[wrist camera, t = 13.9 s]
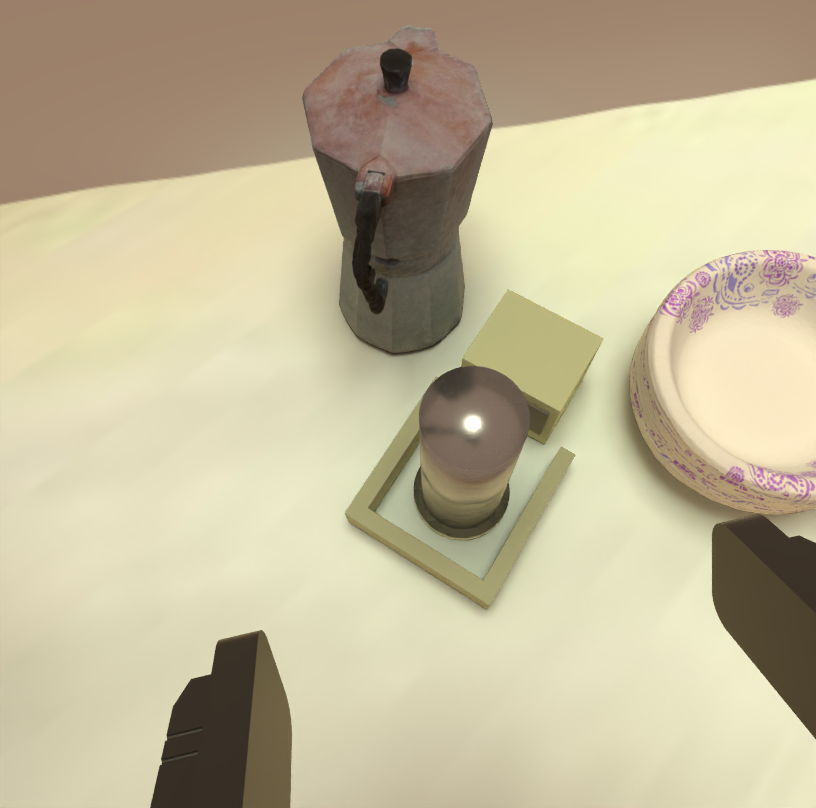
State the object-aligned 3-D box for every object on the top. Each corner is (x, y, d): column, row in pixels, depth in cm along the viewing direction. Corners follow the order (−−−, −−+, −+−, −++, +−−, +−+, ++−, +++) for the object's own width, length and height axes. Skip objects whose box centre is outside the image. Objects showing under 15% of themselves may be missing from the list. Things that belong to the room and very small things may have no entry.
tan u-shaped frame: (486, 609, 42) (495, 599, 36) (348, 522, 44) (337, 499, 38) (609, 393, 46) (634, 354, 41) (480, 324, 49) (486, 278, 43)
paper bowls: (707, 571, 42) (766, 548, 35) (572, 369, 47) (598, 312, 40) (903, 458, 44) (998, 414, 37) (754, 277, 49) (811, 207, 42)
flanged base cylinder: (477, 558, 43) (499, 506, 30) (396, 507, 44) (382, 436, 31) (525, 478, 44) (564, 396, 31) (445, 431, 46) (451, 334, 33)
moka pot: (480, 220, 52) (508, -35, 33) (461, 411, 46) (482, 233, 28) (354, 210, 53) (313, -46, 34) (321, 397, 47) (249, 214, 28)
